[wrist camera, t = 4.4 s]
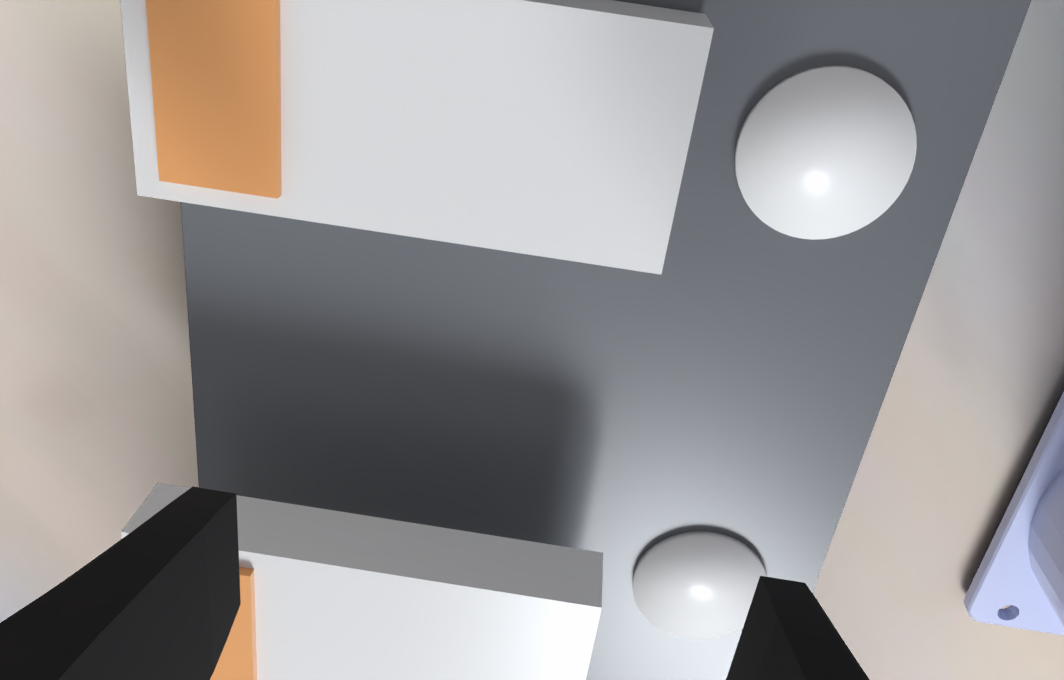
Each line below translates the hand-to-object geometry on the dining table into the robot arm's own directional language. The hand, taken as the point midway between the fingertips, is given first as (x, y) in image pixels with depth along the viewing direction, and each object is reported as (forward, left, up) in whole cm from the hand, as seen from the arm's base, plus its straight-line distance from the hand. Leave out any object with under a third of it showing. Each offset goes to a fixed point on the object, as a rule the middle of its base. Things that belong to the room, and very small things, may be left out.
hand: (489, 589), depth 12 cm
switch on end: (+2, +5, -5) cm, 7 cm away
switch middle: (+2, -5, -6) cm, 8 cm away
